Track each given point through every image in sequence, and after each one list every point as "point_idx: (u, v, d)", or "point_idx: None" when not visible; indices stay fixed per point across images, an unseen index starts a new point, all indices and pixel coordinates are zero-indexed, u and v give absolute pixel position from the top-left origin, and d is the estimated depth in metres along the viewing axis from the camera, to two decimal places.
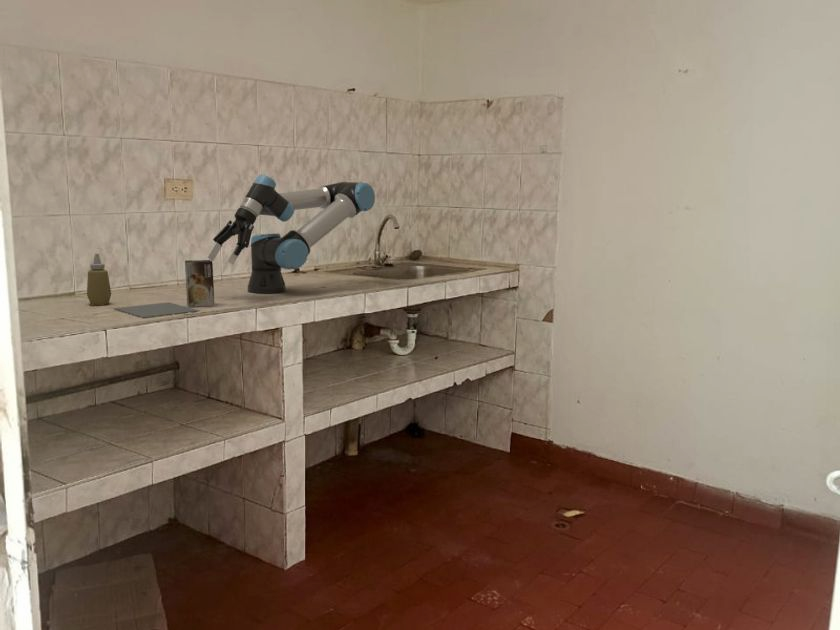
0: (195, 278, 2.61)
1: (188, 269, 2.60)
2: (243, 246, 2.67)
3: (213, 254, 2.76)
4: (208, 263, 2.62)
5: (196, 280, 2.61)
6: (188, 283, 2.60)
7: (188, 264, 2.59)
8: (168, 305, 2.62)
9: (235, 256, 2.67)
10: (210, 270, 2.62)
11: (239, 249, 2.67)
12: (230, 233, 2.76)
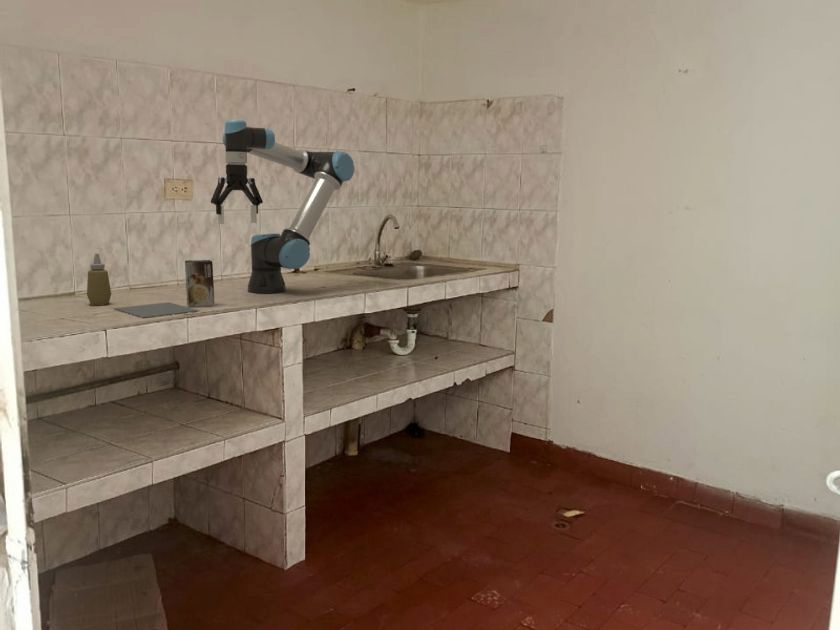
0: (195, 278, 2.61)
1: (188, 269, 2.60)
2: None
3: None
4: (208, 263, 2.62)
5: (196, 280, 2.61)
6: (188, 283, 2.60)
7: (188, 264, 2.59)
8: (168, 305, 2.62)
9: None
10: (210, 270, 2.62)
11: None
12: None
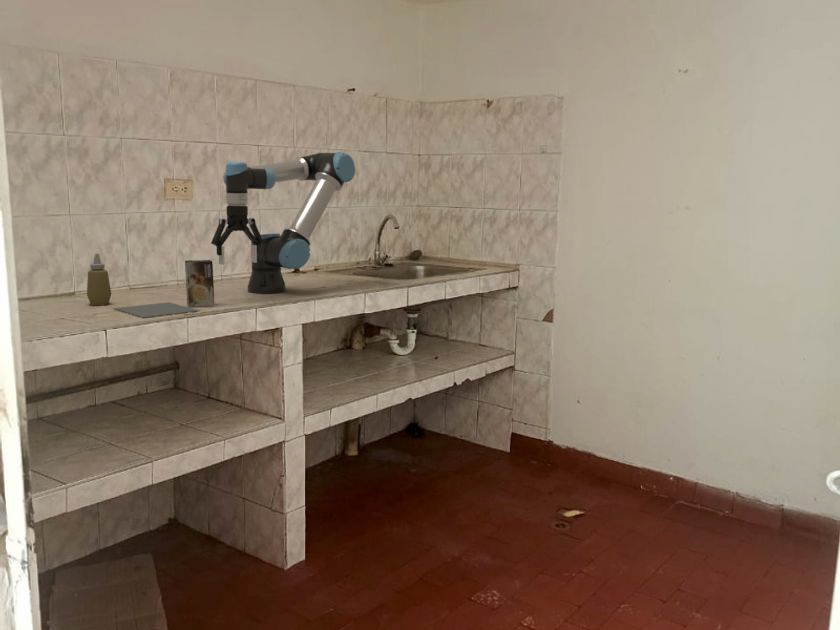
0: (195, 278, 2.61)
1: (188, 269, 2.60)
2: None
3: None
4: (208, 263, 2.62)
5: (196, 280, 2.61)
6: (188, 283, 2.60)
7: (188, 264, 2.59)
8: (168, 305, 2.62)
9: None
10: (210, 270, 2.62)
11: None
12: None
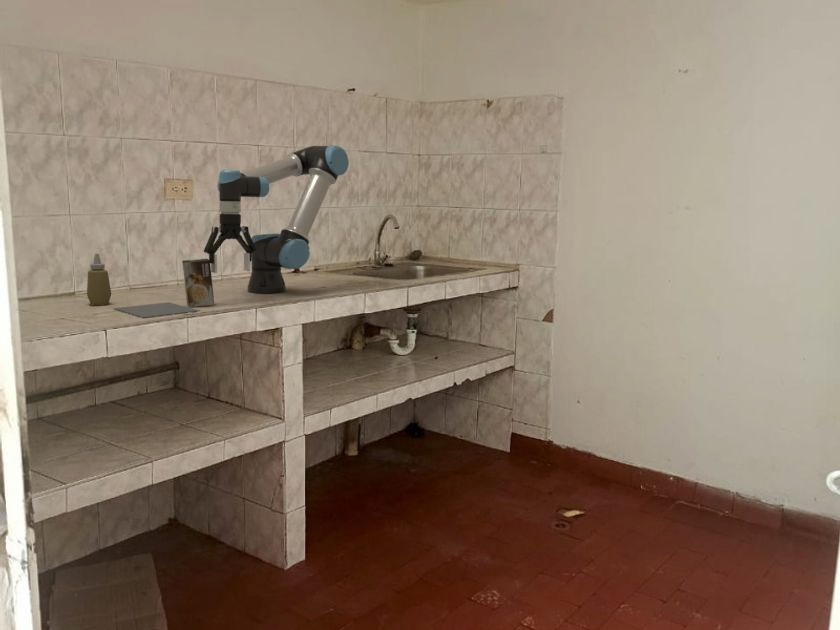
0: (193, 278, 2.60)
1: (186, 269, 2.59)
2: None
3: None
4: (205, 262, 2.61)
5: (194, 280, 2.61)
6: (187, 283, 2.60)
7: (185, 264, 2.59)
8: (168, 305, 2.62)
9: None
10: (208, 269, 2.62)
11: None
12: None
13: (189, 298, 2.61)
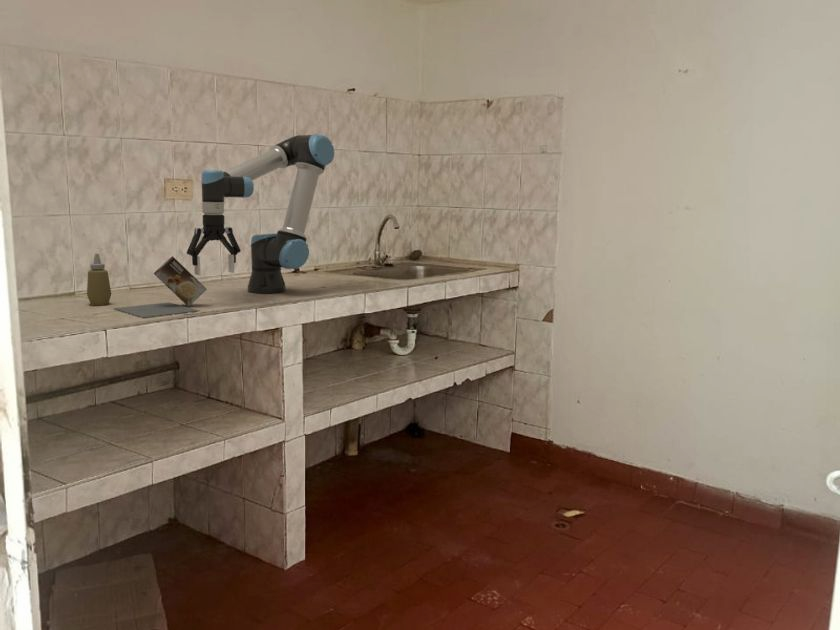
0: (173, 281, 2.58)
1: (161, 279, 2.57)
2: None
3: None
4: (172, 261, 2.57)
5: (175, 282, 2.59)
6: (171, 289, 2.59)
7: (157, 275, 2.56)
8: (168, 305, 2.62)
9: None
10: (178, 265, 2.58)
11: None
12: None
13: (183, 299, 2.61)
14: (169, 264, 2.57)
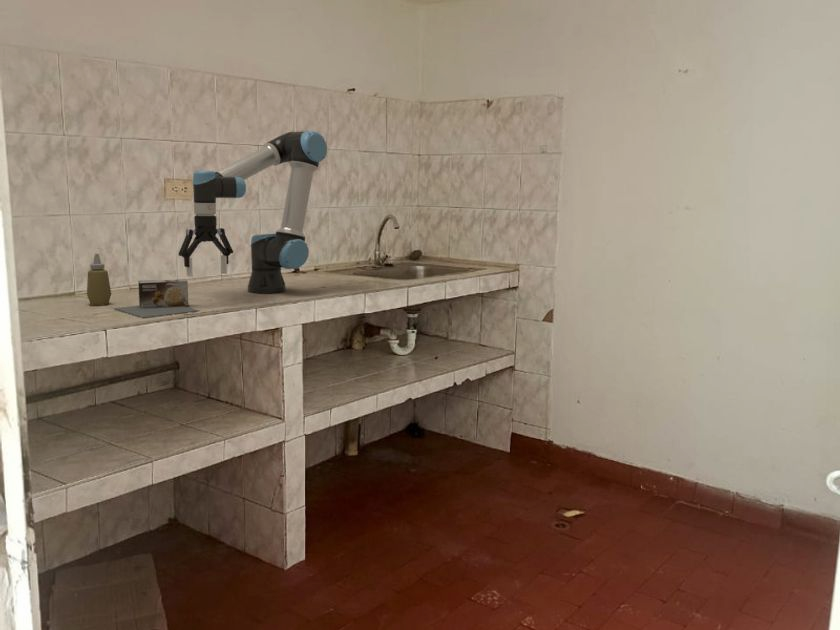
0: (158, 299, 2.57)
1: (148, 306, 2.56)
2: None
3: None
4: (141, 287, 2.54)
5: (160, 298, 2.57)
6: (163, 306, 2.59)
7: (142, 306, 2.56)
8: None
9: None
10: (148, 285, 2.55)
11: None
12: None
13: (179, 304, 2.61)
14: (142, 290, 2.55)
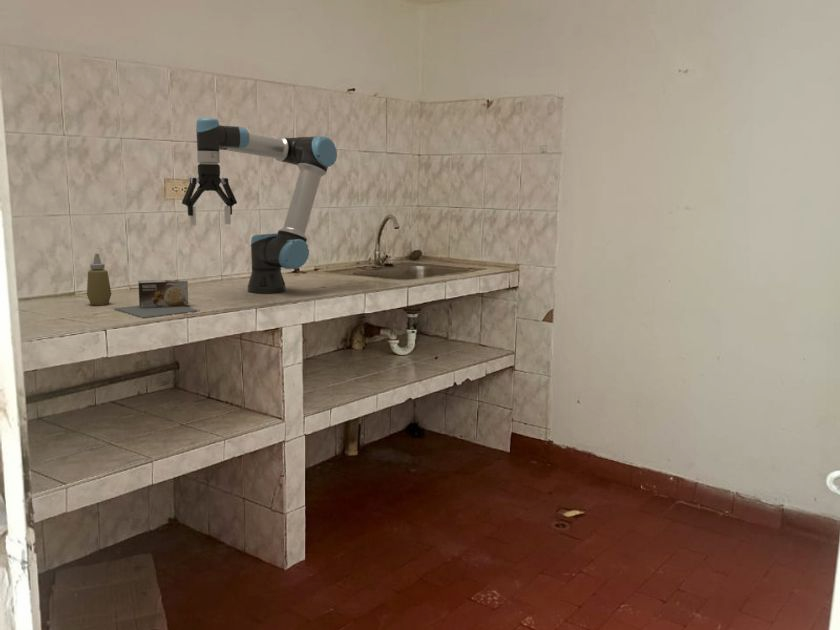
0: (158, 299, 2.57)
1: (148, 306, 2.56)
2: None
3: None
4: (141, 286, 2.54)
5: (160, 298, 2.57)
6: (163, 306, 2.59)
7: (142, 306, 2.56)
8: None
9: None
10: (148, 285, 2.55)
11: None
12: None
13: (179, 304, 2.61)
14: (142, 290, 2.55)
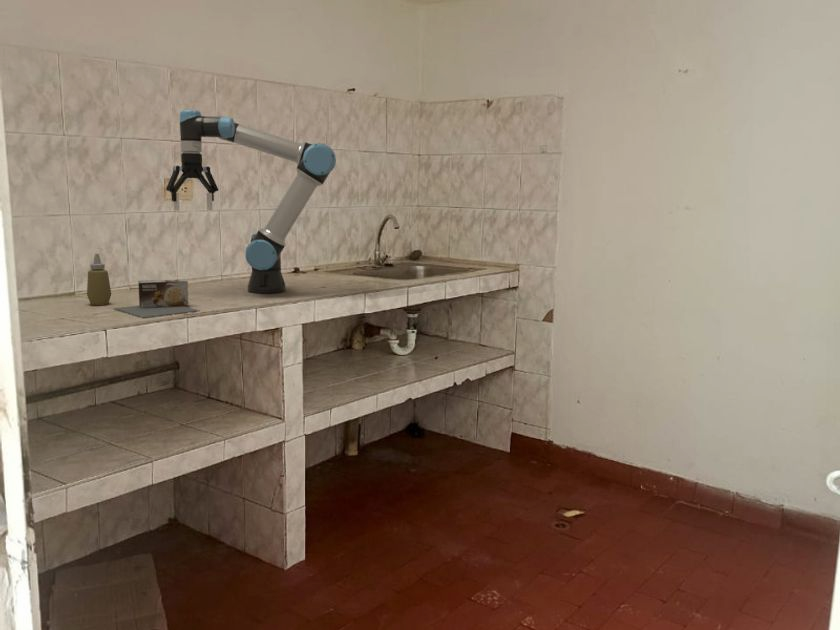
0: (158, 299, 2.57)
1: (148, 306, 2.56)
2: None
3: None
4: (141, 286, 2.54)
5: (160, 298, 2.57)
6: (163, 306, 2.59)
7: (142, 306, 2.56)
8: None
9: None
10: (148, 285, 2.55)
11: None
12: None
13: (179, 304, 2.61)
14: (142, 290, 2.55)
